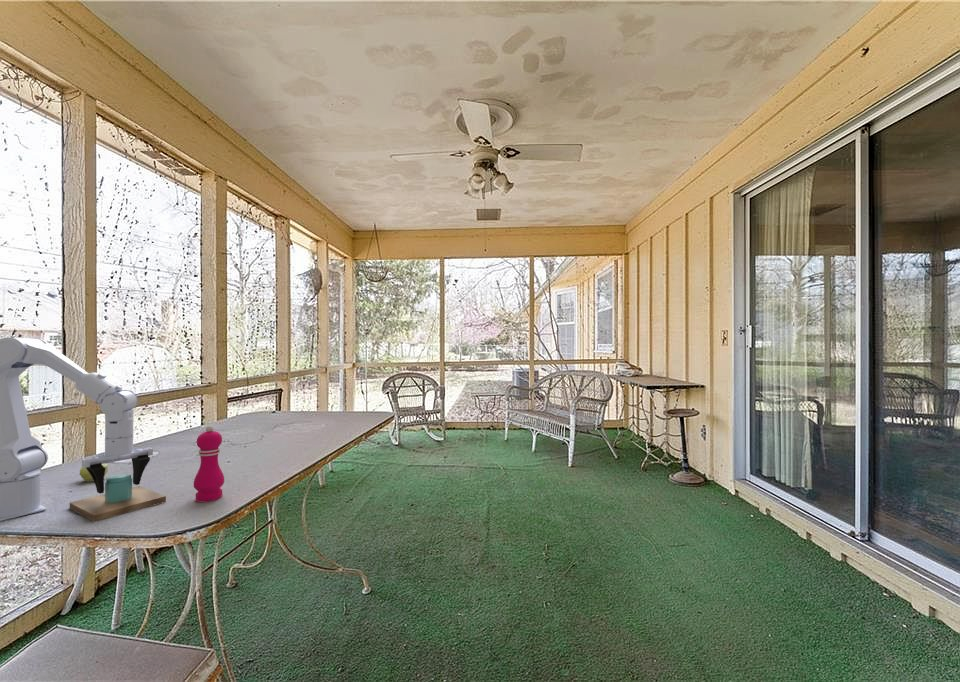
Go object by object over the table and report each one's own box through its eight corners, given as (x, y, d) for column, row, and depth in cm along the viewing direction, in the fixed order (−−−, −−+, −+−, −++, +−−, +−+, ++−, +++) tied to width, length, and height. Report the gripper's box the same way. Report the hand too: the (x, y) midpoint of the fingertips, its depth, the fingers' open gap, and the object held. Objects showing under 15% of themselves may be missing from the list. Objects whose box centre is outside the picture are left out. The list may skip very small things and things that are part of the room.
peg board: (94, 521, 102) (94, 498, 102) (69, 508, 110) (69, 487, 110) (165, 501, 115) (166, 481, 115) (139, 491, 123) (139, 472, 123)
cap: (110, 504, 109) (111, 481, 109) (102, 500, 111) (102, 478, 111) (134, 498, 113) (134, 476, 113) (125, 494, 116) (126, 473, 116)
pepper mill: (218, 491, 123) (219, 422, 123) (228, 497, 118) (229, 425, 118) (189, 498, 117) (190, 425, 117) (198, 504, 112) (199, 429, 113)
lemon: (92, 461, 130) (112, 455, 137) (71, 464, 130) (91, 458, 137) (95, 482, 130) (114, 475, 137) (74, 485, 130) (94, 478, 137)
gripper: (89, 444, 104) (89, 499, 104) (158, 433, 117) (157, 483, 117) (78, 440, 108) (78, 494, 108) (146, 430, 120) (146, 478, 120)
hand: (118, 488), depth 112 cm, fingers open, 7 cm apart
